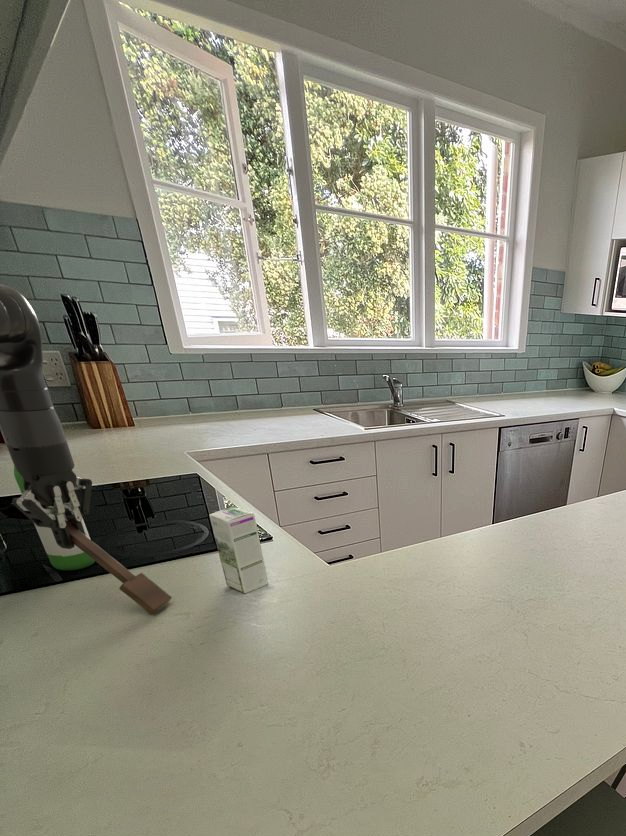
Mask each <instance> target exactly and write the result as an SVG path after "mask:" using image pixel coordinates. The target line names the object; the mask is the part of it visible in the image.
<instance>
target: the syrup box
mask: <svg viewBox="0 0 626 836" xmlns="http://www.w3.org/2000/svg"><path fill="white" fill-rule="evenodd" d="M208 515H209V520H210V524H211V528H212V532H213V537H214V540H215V544H216V548H217V551H218V552H217V553H218V557H219V560H220V564H221V568H222V572H223V575H224V580H225V584H226V586H227V587H229V588H231V589H234V590H236V591H238V592H241V593H242V594H247V593H250V592H254V591H255V590H258V589H260V588H262V587H263V588H264V587H265V586H267V585H269V579H268V574H267V569H266V565H265V560H264V555H263V549H262V545H261V541H260V535H259V531H258V525H257V521H256V517H255V513H254V512H251V511H248V510H245V509H243V508H239V507H236V506H233V507H227V508H223V509H221V510H217V511H215V512H213V513H210V514H208Z"/></svg>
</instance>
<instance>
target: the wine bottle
mask: <svg viewBox="0 0 626 836" xmlns="http://www.w3.org/2000/svg"><path fill="white" fill-rule="evenodd" d="M13 475H14V479H15V481H16V484H17V486H18V488H19V491H20V494H21V495H22V494H23V493H24V492H25V490H24V488H23V483H24V481H23V477H22V476H21V475H20V474H19V473H18V472H17V471H16V469H15V466H14V465H13ZM35 501H36V502H37V500H36V499H35ZM38 507H39V506H38ZM50 507H51V506H50ZM69 510H70V509H69ZM53 516H54V515H53ZM54 520H56V519H55V516H54ZM81 523H82V526H83V529H84V532H85V534H86V537H88V538H89V539H90V540H91V537H90V534H89V531H88V529H87V525H86V523H85V521H84V518H83V517H82V520H81ZM33 524H34V527H35V529H36V532H37V534H38V537H39V539H40V541H41V544H42V546H43V548H44V550H45V553H46V555H47V557H48V559H49V562H50V564H51V566H52V567H53V568H54V569H56V570H59V571H64V572H65V571H66V572H68V571H69V572H70V571H77V570H83V569H85V568H89V567H90V566H92V565H93V564H95V562H96V561H95V560H93V559H92V558H91V557H90V556H88V555H87V554H86V553H85V552H83V551H82V550H81V549H80V548H78V547H77V546H76V545H75V544H74V548H71V549H66V548H61V547H60V546H58V544H57V543H56V540H55V537H54V535H53V532H52V530H51V528H48V527H39V526H37V525H36V524H35V523H33ZM91 541H92V540H91Z"/></svg>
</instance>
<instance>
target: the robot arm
mask: <svg viewBox="0 0 626 836" xmlns="http://www.w3.org/2000/svg"><path fill="white" fill-rule="evenodd" d="M0 432H1V433H0V434H1V435H2V437H3V440H4V443H5V445H6V448H7V451H8V454H9V456H10V459H11V461H12V463H13V467H14V466H15V469H16V471H17V472H18V473H19V474H20V475H21V476H22V477H23V481H24V483H23V488H24V490H25V492H24V493H23V494H21V495H20V497H14V498H12V500H11V503H12V505H13V506H14V507H15V508H16V509H18V510H19V511H20V512H21V513H22V514H23V515H24V516H25V517H26V518H27V519H28V520H30V521H31V522H32V523H33V524H34V523H35V524H36V525H37V526H39V527H48V528H51V530H52V532H53V535H54V537H55V540H56V543H57V544H58V546H60V547H61V548H66V549H71V548H74V543H73V540H72V537H71V535H70V531H69V528H68V527H66V522H65V520H67V521H68V522H69V523H70V524H72V525H73V526H74V527H75V528H77V529H78V530H79V531H80V532H81V533H83V534H84V535H85V536H86V534H85V532H84V529H83V526H82V523H81V520H82V518H83V517H84V515H88V514H89V513H90V508H91V507H90V506H91V498H92V490H93V481H92V480H91V479H90V478H84V477H83V478H82V477H79V476H77V474H76V472H74V471H73V469H74V468H75V461H74V459H73V456H72V453H71V450H70V447H69V445H68V441H67V438H66V435H65V431H64V429H63V425H62V423H61V420H60V418H59V416H58V413H57V412H56V409H55V407H54V404H53V400H52V397H51V395H50V392H49V388H48V386H47V383H46V379H45V377H44V353H43V340H42V331H41V325H40V322H39V319H38V316H37V314H36V312H35V310H34V309H33V307H32V305H31V303H29V301H28V300H27V298H26V297H25V296H23V295H22V294H21V292H20V291H18V290H16V289H15V288H13V287H12V286H9V285H5V284H2V283H0ZM35 499H36V500H37V502H36V501H35ZM80 503H81V504H80ZM38 506H39V507H38ZM50 506H51V507H50ZM69 509H70V510H69ZM53 515H54V516H55V519H56V520H54V516H53Z"/></svg>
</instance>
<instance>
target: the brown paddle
mask: <svg viewBox="0 0 626 836" xmlns="http://www.w3.org/2000/svg"><path fill="white" fill-rule="evenodd" d="M65 522H66V527H68V528H69V531H70V535H71V537H72V540H73V543H74V544H75V545H76V546H77V547H78V548H80V549H81V550H82V551H83V552H85V553H86V554H87V555H88V556H90V557H91V558H92V559H93V560H95V562H96V564H98V565H99V566H101V567H102V568H103V569H105V570H106V571H107V572H108V573H109V574H111V575H112V576H113V577H114V578H115V579H117V580H118V581H119V582H121V585H120V587H119V588H118V589H119V590H120V591H121V592H122V593H124V594H125V595H126V596H127V597H128V598H130V599H131V600H132V601H133V602H135V603H136V604H138V605H139V606H140V607H141V608H142V609H144V610H145V611H146V612H148V613H149V614H150V615H152V614H154V613H155V612H156V611H158V610H159V609H161V608H162V607H163V606H165V605H167V604H168V603H169V602H170V601H171V599H172V597H173V596H171V595H170V594H168V593H167V592H166V591H165V590H164V589H162V588H161V587H160V586H159V585H158V584H157V583H155V582H154V581H153V580H151V579H150V578H149V577H148V576H147V575H145V574H144V573H143V572H139V573H138V574H136V575H135V574H134V573H132V572H131V571H130V570H128V568H126V567H125V566H124V565H122V564H121V563H120V562H119V561H118V560H117V559H115V558H114V557H113V556H111V555H110V554H109V553H108V552H107V551H105V550H104V549H102V548H101V547H100V546H99V545H98V544H96V542H94V541H93V540H90V539H91V538H90V539H89V538H88V537H86V536H85V535H84V534H83V533H81V532H80V531H79V530H78V529H77V528H75V527H74V526H73V525H72V524H70V523H69V522H68V521H67V520H65Z"/></svg>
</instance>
